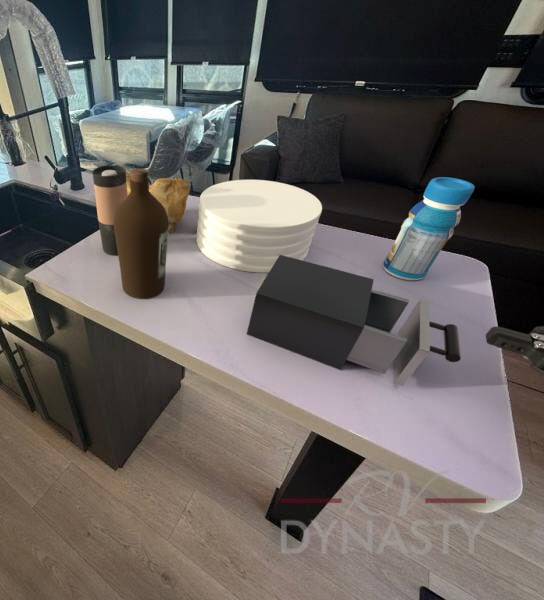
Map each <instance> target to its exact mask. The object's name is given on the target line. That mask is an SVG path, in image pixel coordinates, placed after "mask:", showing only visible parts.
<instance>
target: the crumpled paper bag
mask: <svg viewBox="0 0 544 600" xmlns="http://www.w3.org/2000/svg"><path fill="white" fill-rule="evenodd" d="M130 179H131V176H130V172H127V171H126V181H127V194H128V195H129V194H130V192H131V188H130ZM190 191H191V189H190V183H189V182H188V181H187V180H185V179H184V178H181V177H176V178H168V177H161V178H157V179H155V181H154V182H153V183H151V184H149V192H150V193H151V194H152V195H153V196H154V197H155V198H156V199H157V200H158V201H159V202H160V203H161V204H162V205H163V207H164V208H165V210H166V213H167V216H168V221H169V228H168V234H171V233H173V232H174V230H175V228H176V227H177V224H178V222H182V220H183V217H184V214H185V211H186V208H187V201H188V197H189V196H190V195H189V194H190Z"/></svg>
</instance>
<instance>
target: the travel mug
mask: <svg viewBox="0 0 544 600" xmlns="http://www.w3.org/2000/svg"><path fill="white" fill-rule="evenodd" d="M126 172H127V171H126V168H125V167H124V166H121V165H114V164H113V165H112V164H111V165H110V164H109V165H102V166H98V167H96V168H94V169H93V170H92V181H93V188H94V196H95V197H94V198H95V206H96V212H97V221H98V227H99V234H100V239H101V245H102V250H103V252H104V253H105V254H106V255H110V256H118V250H117V244H116V238H115V231H114V216H115V213H116V210H117V208H118V207H119V205H120V204H121V203H122V202H123V201H124V200H125V199H126V197H127V196H128V194H127V181H126Z"/></svg>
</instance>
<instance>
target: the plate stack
mask: <svg viewBox="0 0 544 600" xmlns="http://www.w3.org/2000/svg"><path fill="white" fill-rule="evenodd" d="M322 212H323V205H322V202H321V201H320V200H319V199H318V197H317V196H315V195H314V194H312V193H310V192H309V191H307V190H305V189H302V188H300V187H298V186H295V185H291V184H287V183H283V182H278V181H274V180H265V179H235V180H228V181H223V182H220V183H215V184H213V185H210V186H209V187H207V188H206V189H204V190H203V192H202V193H201V194H200V196H199V206H198V219H197V228H196V229H197V230H196V245H197V248H198V249H199V251H200V252H201V253H202V254H203V255H204V256H205V257H206V258H208V259H210V260H211V261H213V262H214V263H217V264H219V265H221V266H224V267H227V268H230V269H233V270H237V271H242V272H250V273H269V272H270V270H271V268H272V267H273V265H274V263H275V262H276V260H277V259H278V257H279V255H283V256H287V257H291V258H295V259H298V260H302V261H305V259H306V258H307V256H308V254H309V250H310V247H311V244H312V241H313V238H314V235H315V232H316V228H317V226H318V224H319V221H320V220H319V219H320V217H321V215H322Z"/></svg>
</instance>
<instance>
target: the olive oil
mask: <svg viewBox="0 0 544 600" xmlns="http://www.w3.org/2000/svg"><path fill="white" fill-rule="evenodd" d="M129 173H130V176H131V179H130V188H131V192H130V194H129V195H128V196H127V197H126V199H125V200H124V201H123V202H122V203H121V204H120V205H119V207H118V208H117V210H116V213H115V216H114V231H115V238H116V244H117V250H118V255H117V256H118V263H119V271H120V279H121V285H122V289H123V292H124V293H126V295H128V296H129V297H132V298H135V299H140V300H141V299H142V300H143V299H150V298H154V297H156V296H158V295H160V294H161V293H162V292H163V291H164V289H165V285H166V270H167V269H166V268H167V267H166V266H167V255H168V254H167V253H168V240H169V239H168V238H169V233H168V228H169V221H168V216H167V213H166V210H165V208H164V207H163V205H162V204H161V203H160V202H159V201H158V200H157V199H156V198H155V197H154V196H153V195H152V194H151V193H150V192H149V185H150V178H149V171H148V170H147V169H145V168H134V169H131V170H130V171H129Z"/></svg>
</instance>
